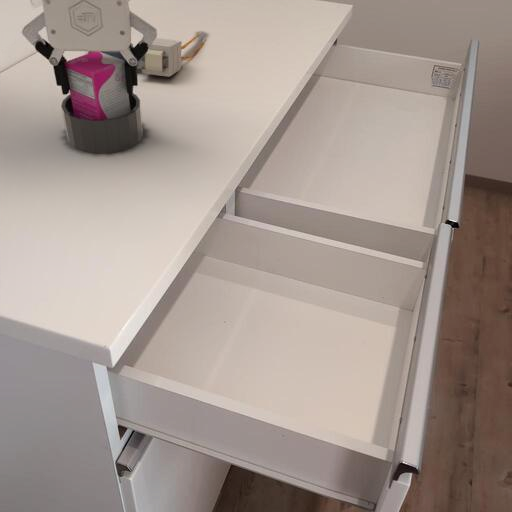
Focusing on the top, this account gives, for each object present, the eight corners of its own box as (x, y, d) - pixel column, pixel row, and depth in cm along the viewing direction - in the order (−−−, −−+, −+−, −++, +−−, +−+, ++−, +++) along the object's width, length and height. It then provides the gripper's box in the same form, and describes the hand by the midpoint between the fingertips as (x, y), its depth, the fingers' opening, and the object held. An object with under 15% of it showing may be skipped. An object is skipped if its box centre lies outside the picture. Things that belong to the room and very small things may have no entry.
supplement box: (106, 124, 83) (97, 48, 75) (134, 137, 80) (127, 60, 73) (76, 137, 79) (63, 60, 72) (104, 152, 77) (94, 73, 69)
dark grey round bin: (64, 160, 75) (56, 121, 71) (73, 124, 83) (66, 86, 79) (142, 159, 77) (139, 120, 73) (143, 123, 85) (140, 86, 81)
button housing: (86, 73, 97) (83, 54, 95) (90, 56, 103) (88, 37, 101) (143, 73, 98) (142, 54, 96) (144, 56, 104) (143, 38, 102)
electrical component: (179, 51, 115) (180, 26, 113) (207, 55, 115) (208, 30, 112) (137, 73, 95) (136, 43, 92) (170, 78, 94) (170, 48, 91)
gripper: (-7, -48, 59) (27, 103, 71) (155, -42, 62) (163, 102, 73) (7, -64, 65) (37, 78, 76) (155, -58, 67) (162, 79, 79)
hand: (98, 89), depth 75 cm, fingers closed on supplement box, 8 cm apart
